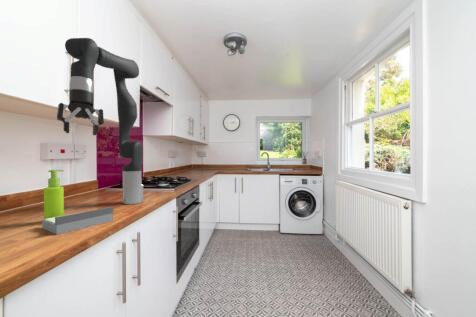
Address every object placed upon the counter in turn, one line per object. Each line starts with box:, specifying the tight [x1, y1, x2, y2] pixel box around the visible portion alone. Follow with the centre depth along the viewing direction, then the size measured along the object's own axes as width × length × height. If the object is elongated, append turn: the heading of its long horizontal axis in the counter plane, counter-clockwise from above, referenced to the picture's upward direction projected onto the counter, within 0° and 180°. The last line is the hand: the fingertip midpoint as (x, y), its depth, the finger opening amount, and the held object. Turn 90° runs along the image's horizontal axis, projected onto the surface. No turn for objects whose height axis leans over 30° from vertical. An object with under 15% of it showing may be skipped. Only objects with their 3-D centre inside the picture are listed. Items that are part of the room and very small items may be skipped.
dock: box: [41, 206, 114, 236], centre depth 82 cm, size 18×12×5 cm, turn 148°
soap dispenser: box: [43, 169, 65, 220], centre depth 86 cm, size 6×7×20 cm
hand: (81, 134), depth 84 cm, fingers open, 8 cm apart
